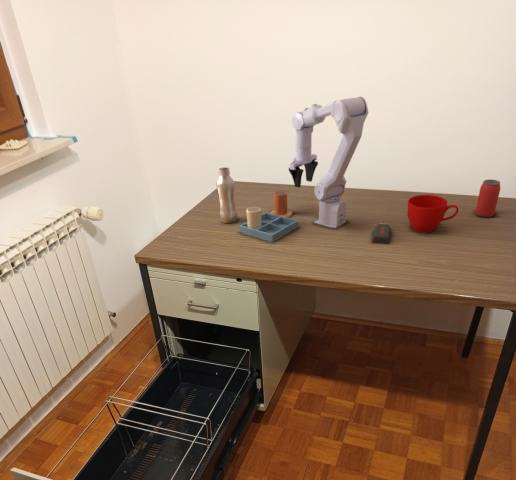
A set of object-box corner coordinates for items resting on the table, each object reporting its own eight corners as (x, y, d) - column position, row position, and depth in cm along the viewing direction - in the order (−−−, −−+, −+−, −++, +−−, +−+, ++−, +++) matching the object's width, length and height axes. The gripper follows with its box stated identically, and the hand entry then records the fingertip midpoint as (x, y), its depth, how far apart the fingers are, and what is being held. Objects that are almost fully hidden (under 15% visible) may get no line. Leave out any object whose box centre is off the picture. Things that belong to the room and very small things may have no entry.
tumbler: (290, 212, 191) (289, 191, 187) (281, 216, 188) (281, 195, 184) (279, 209, 194) (279, 189, 189) (271, 213, 191) (270, 193, 186)
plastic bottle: (235, 225, 185) (231, 171, 173) (218, 225, 186) (212, 171, 174) (239, 219, 190) (235, 166, 178) (222, 218, 191) (217, 166, 179)
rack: (298, 228, 180) (298, 220, 178) (272, 243, 171) (272, 235, 169) (265, 219, 188) (265, 212, 186) (239, 233, 179) (238, 225, 177)
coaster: (297, 212, 192) (297, 211, 192) (283, 220, 186) (283, 219, 186) (278, 208, 197) (278, 207, 196) (264, 215, 191) (264, 214, 191)
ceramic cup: (456, 237, 167) (462, 209, 161) (405, 235, 170) (408, 207, 164) (452, 222, 177) (457, 195, 171) (403, 221, 180) (407, 194, 174)
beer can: (491, 211, 183) (498, 178, 176) (496, 217, 178) (504, 184, 171) (472, 211, 184) (479, 179, 177) (477, 218, 179) (484, 185, 172)
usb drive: (372, 242, 167) (373, 234, 165) (375, 228, 176) (376, 221, 174) (388, 243, 165) (389, 235, 164) (390, 229, 175) (391, 222, 173)
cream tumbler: (264, 229, 179) (263, 208, 174) (255, 234, 176) (254, 213, 171) (254, 226, 182) (252, 205, 177) (244, 231, 179) (243, 210, 174)
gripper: (306, 140, 186) (305, 177, 194) (282, 150, 177) (283, 187, 185) (321, 143, 182) (320, 179, 190) (298, 152, 173) (298, 190, 182)
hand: (303, 183), depth 188 cm, fingers open, 7 cm apart
